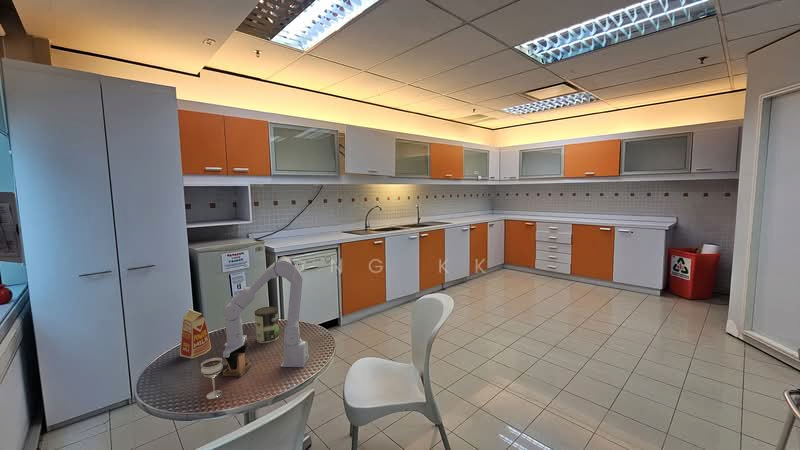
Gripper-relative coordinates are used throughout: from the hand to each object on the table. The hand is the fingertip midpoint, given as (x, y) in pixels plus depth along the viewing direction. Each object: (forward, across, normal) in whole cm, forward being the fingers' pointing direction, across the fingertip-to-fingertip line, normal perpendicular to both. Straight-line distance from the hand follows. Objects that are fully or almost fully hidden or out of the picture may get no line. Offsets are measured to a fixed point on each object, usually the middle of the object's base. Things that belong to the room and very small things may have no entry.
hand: (237, 365), depth 133 cm
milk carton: (+3, -15, -26) cm, 30 cm away
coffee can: (+3, -29, 0) cm, 29 cm away
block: (+2, 0, 0) cm, 2 cm away
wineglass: (+3, +15, -1) cm, 15 cm away
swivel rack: (+2, 0, -4) cm, 4 cm away
